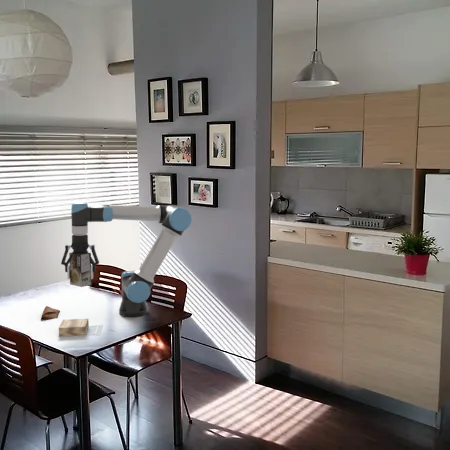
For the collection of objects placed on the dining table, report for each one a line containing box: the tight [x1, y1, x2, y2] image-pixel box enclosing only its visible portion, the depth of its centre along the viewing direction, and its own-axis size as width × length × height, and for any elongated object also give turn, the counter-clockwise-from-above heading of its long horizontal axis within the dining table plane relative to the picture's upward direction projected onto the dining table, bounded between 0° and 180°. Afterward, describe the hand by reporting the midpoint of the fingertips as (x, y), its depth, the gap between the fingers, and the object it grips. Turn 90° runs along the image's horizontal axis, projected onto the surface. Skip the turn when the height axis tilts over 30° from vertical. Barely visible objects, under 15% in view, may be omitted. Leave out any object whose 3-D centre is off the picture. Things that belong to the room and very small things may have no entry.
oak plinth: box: [58, 318, 90, 337], centre depth 241 cm, size 12×12×4 cm
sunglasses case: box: [40, 305, 61, 321], centre depth 266 cm, size 18×7×7 cm
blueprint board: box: [56, 324, 104, 338], centre depth 241 cm, size 20×14×1 cm
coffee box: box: [68, 252, 92, 288], centre depth 247 cm, size 9×6×16 cm
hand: (80, 278), depth 248 cm, fingers closed on coffee box, 10 cm apart
